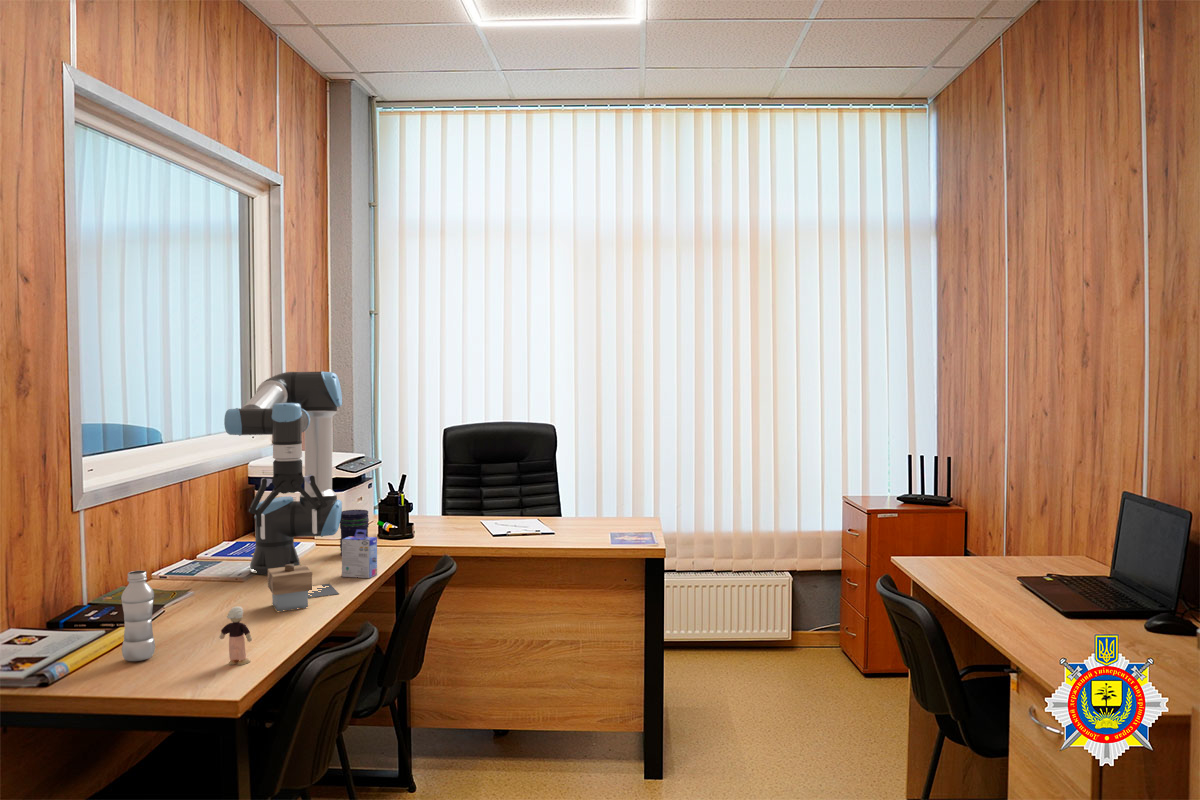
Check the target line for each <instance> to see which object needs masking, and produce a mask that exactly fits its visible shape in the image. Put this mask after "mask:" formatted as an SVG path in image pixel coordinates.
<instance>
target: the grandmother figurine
mask: <svg viewBox="0 0 1200 800" xmlns="http://www.w3.org/2000/svg"><path fill="white" fill-rule="evenodd" d="M243 614H244V609H243V608H242V606H234V607H231V609H230V610H229V611H228V613H227V615H226V617H227V619H228V620H230V621H231V622H229V623H227V624H226V625H225V626H224V627H222V629H221V630H220V634H219V637H218V638H219V639H220V640H223V639H225V636H226V635H228V634H229V635H228V636H229V637H228V639H229V640H228V652H229V660H230V661H228V665H229V666H231V665H233V666H234V665H236V664H237V665H239V666H243V665H244V666H245V665H246V664H249V663H250V662H251V660H250V659H249V658H248V657H247V653H246V641H247V642H248V643H249V642H250V643H251V642H252V640H253V638H252V636H251V631H250V629H249V628H248V626H247V625H246V624H245V623H243V622H241V621H242V620H243ZM245 638H246V640H245Z"/></svg>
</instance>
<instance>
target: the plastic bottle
mask: <svg viewBox="0 0 1200 800" xmlns="http://www.w3.org/2000/svg"><path fill="white" fill-rule="evenodd" d="M147 580H148V577H147V571H146V570H133V571H129V572H127V582H128V584H127V586H126V587H125V589H124V590H123V591H122V594H121V597H120V599H121V605H122V610H123V619H124V621H123V622H124V633H123V642H122V647H121V653H122V654H121V655H122V657H123V659H124V660H125V661H127V662H140V661H141V662H142V661H144V660H148V659H150V658H152V657H153V655H154V654H155V651H156V643H155V638H154V634H153V633H154V632H153V624H152V623H153V618H152V617H153V607H154V600H155V591H154V589H153V588H152V586H150V585H149V583H147Z"/></svg>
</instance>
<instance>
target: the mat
mask: <svg viewBox="0 0 1200 800" xmlns="http://www.w3.org/2000/svg"><path fill="white" fill-rule="evenodd" d="M321 585H322V586H323V587H325V586H329V587H326V588H317V589H322V590H318V591H321V592H318V591H312V592H314V593H308V594H310V595H312V596H310V595H308V599H312V598H311V597H315V598H321V597H320V596H323V597H329V596H328V595H330V596H337V595H340V593H339V592H338V590H336V589H335V588H334V586H332V584H330V582H329V583H322V584H321Z"/></svg>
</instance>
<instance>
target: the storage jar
mask: <svg viewBox="0 0 1200 800" xmlns="http://www.w3.org/2000/svg"><path fill="white" fill-rule="evenodd" d="M369 525H370V524H369V510H366V509H347V510H342V513H341V520H340V524H339V529H340V540H339V542H340V544H339V548H340V556H341V555H342V539H344V538H346V537H350V536H352V537H354V536H355V533H356V530H357V529H358V530H367V531H366V537H369V529H368V528H369ZM357 534H364V532H358V533H357Z"/></svg>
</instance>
